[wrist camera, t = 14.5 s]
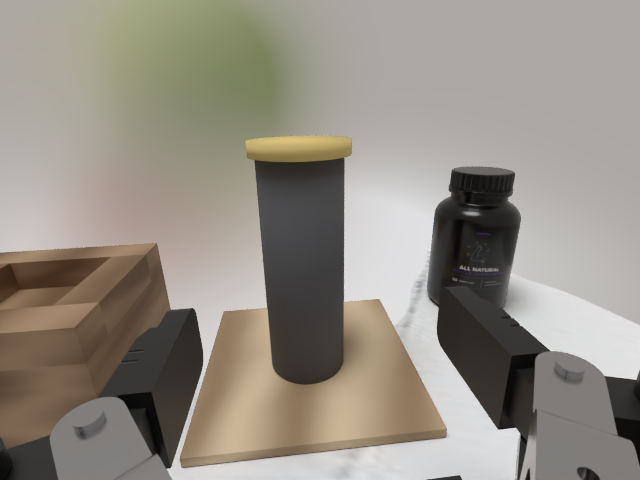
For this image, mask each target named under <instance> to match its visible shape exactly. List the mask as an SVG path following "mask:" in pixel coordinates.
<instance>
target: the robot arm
mask: <svg viewBox="0 0 640 480" xmlns="http://www.w3.org/2000/svg"><path fill="white" fill-rule="evenodd" d="M437 335H438V340H439V343H440V345H441V347H442V349H443V350H444V352H445V353H446V355H447V356H448V358H449V359H450V360H451V362H452V363H453V365H454V366H455V368H456V369H457V371H458V372H459V373H460V375H461V376H462V378H463V379H464V381H465V382H466V384H467V385H468V386H469V388H470V389H471V391H472V392H473V394H474V395H475V397H476V398H477V399H478V401H479V402H480V404H481V405H482V407H483V408H484V410H485V411H486V412H487V414H488V415H489V417H490V418H491V420H492V421H493V423H494V424H495V426H496V427H497V428H498V430H499V429H508V428H517V429H518V431H519V432H520V436H519V441H518V449H517V461H516V473H515V480H640V371H639V374H638V377H637V380H632V379H624V378H615V377H607V376H604V375H603V374H602V372H601V371H600V370H599V369H598V368H596V367H595V366H594V365H592V364H591V363H589V362H588V361H586V360H584V359H582V358H580V357H577V356H574V355H571V354H568V353H563V352H556V351H550V350H549V349H547V348H546V347H545V346H544V345H543V344H542V343H541V342H539V341H538V340H537V339H536V338H535V337H534V336H533V335H531V334H530V333H529V332H528V331H527V330H526V329H524V328H523V327H522V326H520V325H519V323H518V322H516V321H515V320H514V319H513V318H511V317H510V315H508V314H507V313H506V312H505V311H504V310H503V309H502V308H500V307H499V306H497V305H495V304H493V303H491V302H489V301H487V300H485V299H481V298H480V297H478V296H477V295H476V294H475V293H474V292H473V291H472V290H471V289H470V288H469V287H467V286H458V287H446V288H443V289H442V290H441V292H440V300H439V311H438V322H437ZM202 367H203V349H202V343H201V338H200V332H199V327H198V321H197V316H196V312H195V310H194V309H193V308H190V309H178V310H168V311H167V312H166V314H165V315H164V317H163V319H162V320H161V322H160V324H159V326H158V327H155V328H149V329H148V330H147V331H145V332H144V333H143V334H142V335H140V336H139V337H138V338H137V339H136V340H135V341H134V343H133V344H132V346H131V347H130V349H129V350H128V353H126V355H125V356H124V358H123V359H122V361H121V364H119V365H118V367H117V369H116V370H115V372H114V373H113V375H112V376H111V378H110V379H109V381H108V382H107V384H106V385H105V387H104V388H103V390H102V391H101V393H100V394H99V396H98V397H97V399H94V400H91V401H88V402H86V403H84V404H82V405H80V406H78V407H76V408H75V409H73V410H71V411H70V412H69V413H67V414H66V415H65V416H64V417H63V418H62V419H60V421H59V422H58V423H57V424H56V425H55V427H54V428H53V430H52V432H51V435H48V436H45V437H42V438H39V439H36V440H33V441H30V442H27V443H24V444H21V445H18V446H15V447H12V448H9V449H6V447H5V444H4V442H3V440H2V439H1V437H0V480H172V479H171V477H170V475H169V473H168V471H167V470H166V468H171V466H172V463H173V460H174V456H175V453H176V450H177V447H178V444H179V441H180V438H181V434H182V431H183V428H184V425H185V422H186V419H187V415H188V412H189V409H190V406H191V403H192V400H193V397H194V393H195V390H196V387H197V384H198V381H199V378H200V374H201V371H202ZM428 480H462V479H461V477H460V475H459V476H451V477H444V478H436V479H428Z"/></svg>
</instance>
